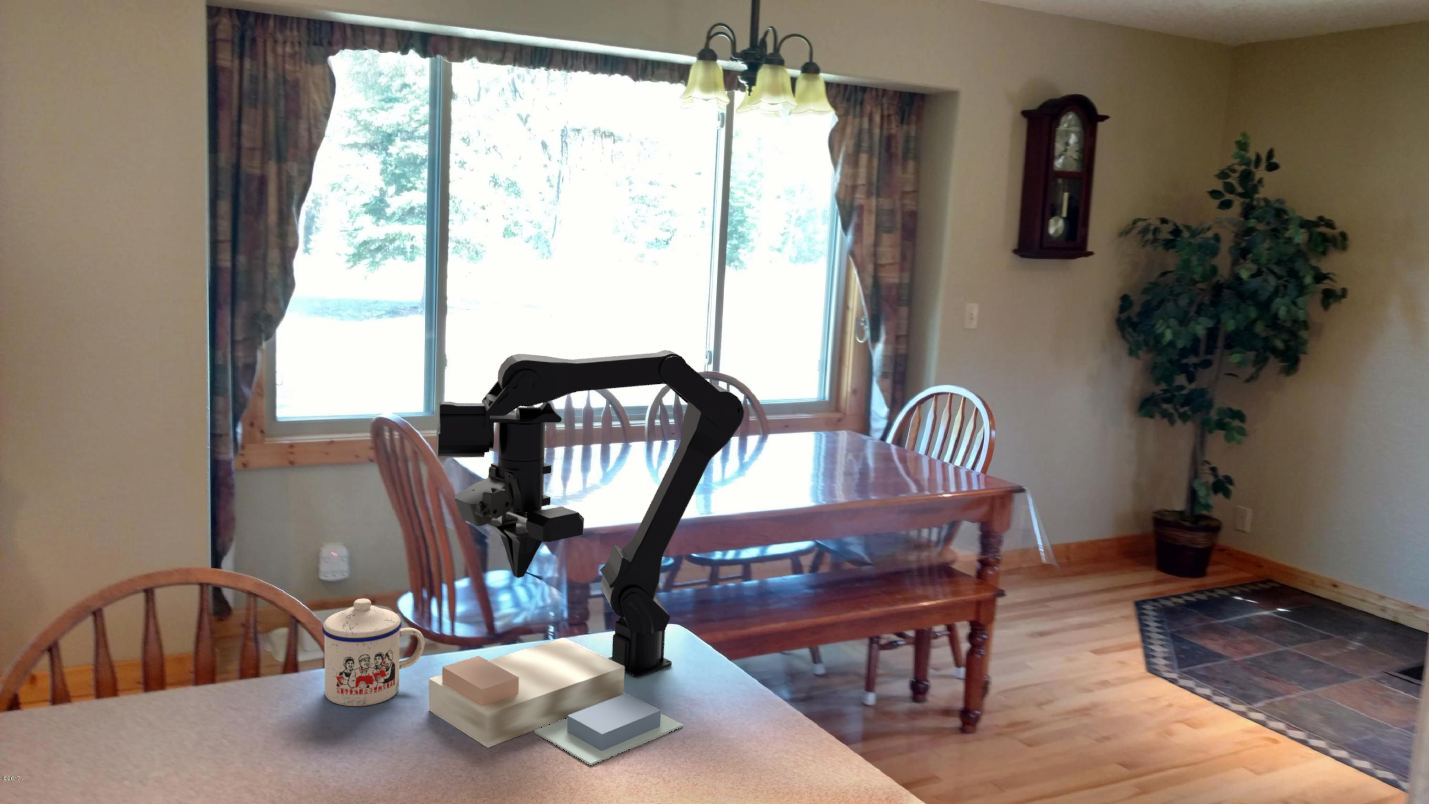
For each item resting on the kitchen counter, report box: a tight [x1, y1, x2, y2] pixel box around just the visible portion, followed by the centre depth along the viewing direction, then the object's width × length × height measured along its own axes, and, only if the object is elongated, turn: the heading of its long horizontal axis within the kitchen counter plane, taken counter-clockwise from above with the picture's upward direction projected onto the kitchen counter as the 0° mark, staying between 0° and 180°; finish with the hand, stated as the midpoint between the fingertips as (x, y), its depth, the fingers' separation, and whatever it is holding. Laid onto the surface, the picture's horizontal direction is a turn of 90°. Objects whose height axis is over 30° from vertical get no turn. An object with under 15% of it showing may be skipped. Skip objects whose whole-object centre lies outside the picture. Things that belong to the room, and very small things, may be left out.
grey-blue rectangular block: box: [567, 692, 662, 751], centre depth 124 cm, size 9×6×2 cm, turn 137°
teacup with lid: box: [321, 598, 425, 707], centre depth 131 cm, size 12×9×12 cm
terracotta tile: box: [441, 655, 519, 706], centre depth 124 cm, size 5×8×2 cm, turn 46°
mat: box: [534, 713, 684, 766], centre depth 124 cm, size 14×10×1 cm
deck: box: [428, 637, 625, 748], centre depth 130 cm, size 20×12×4 cm, turn 136°
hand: (518, 576), depth 136 cm, fingers closed
